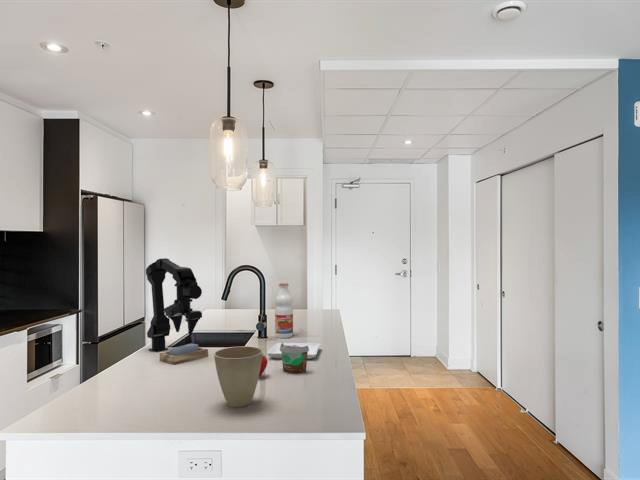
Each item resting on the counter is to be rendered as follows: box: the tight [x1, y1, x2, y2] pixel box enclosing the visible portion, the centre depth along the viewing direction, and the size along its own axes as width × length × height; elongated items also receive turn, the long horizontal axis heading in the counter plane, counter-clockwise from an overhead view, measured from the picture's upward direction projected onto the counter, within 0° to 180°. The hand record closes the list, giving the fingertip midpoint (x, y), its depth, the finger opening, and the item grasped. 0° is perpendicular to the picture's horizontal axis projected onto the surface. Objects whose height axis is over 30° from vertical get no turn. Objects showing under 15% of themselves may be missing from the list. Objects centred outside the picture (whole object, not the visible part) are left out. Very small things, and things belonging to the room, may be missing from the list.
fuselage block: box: [168, 343, 199, 356], centre depth 198 cm, size 12×4×4 cm, turn 148°
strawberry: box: [259, 353, 268, 378], centre depth 169 cm, size 6×8×10 cm
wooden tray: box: [159, 346, 209, 366], centre depth 198 cm, size 10×17×3 cm, turn 141°
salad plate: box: [266, 342, 322, 360], centre depth 202 cm, size 21×21×3 cm
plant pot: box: [213, 345, 264, 408], centre depth 142 cm, size 15×15×16 cm
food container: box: [280, 342, 309, 375], centre depth 175 cm, size 12×6×10 cm, turn 62°
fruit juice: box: [274, 282, 294, 339], centre depth 241 cm, size 9×9×28 cm
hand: (183, 333), depth 198 cm, fingers open, 9 cm apart
